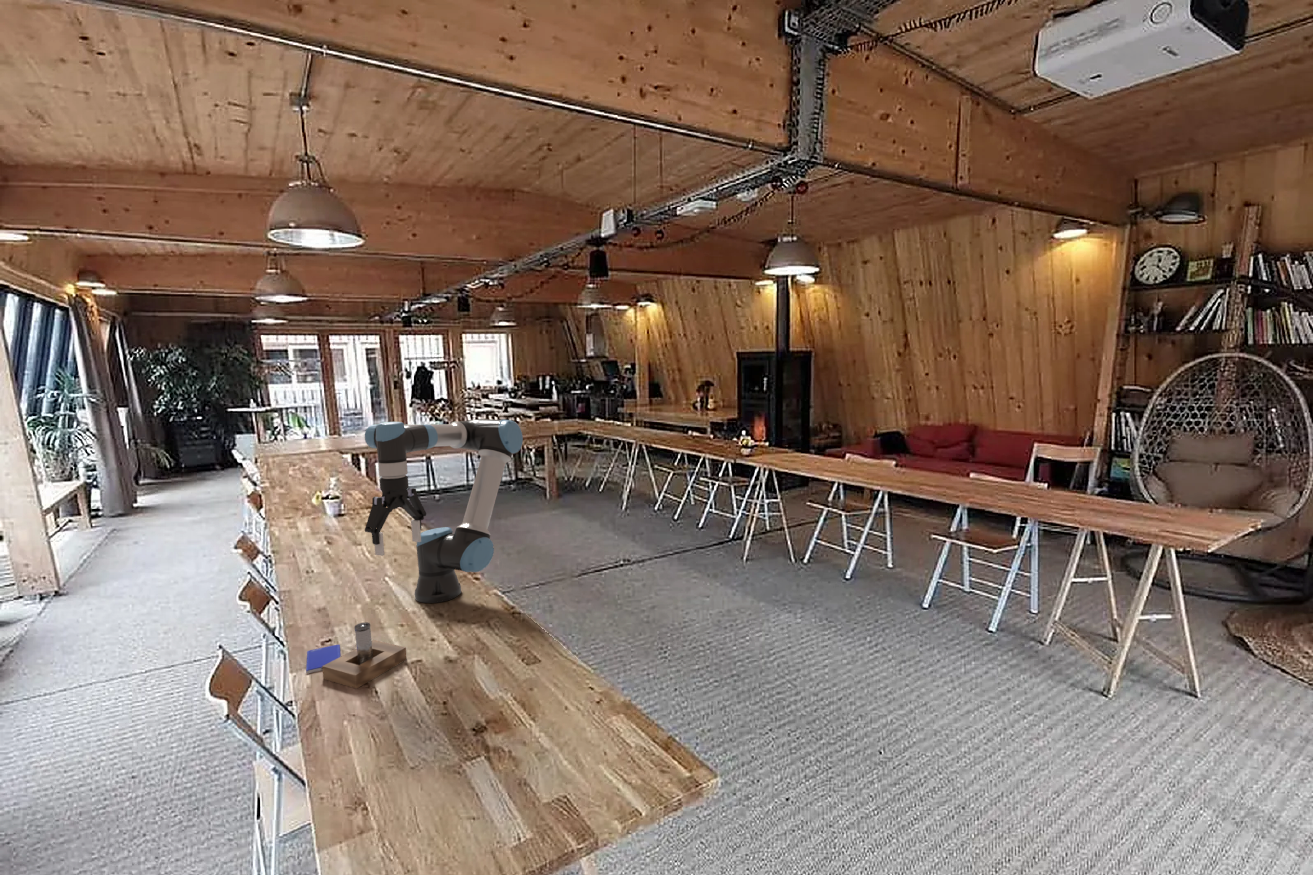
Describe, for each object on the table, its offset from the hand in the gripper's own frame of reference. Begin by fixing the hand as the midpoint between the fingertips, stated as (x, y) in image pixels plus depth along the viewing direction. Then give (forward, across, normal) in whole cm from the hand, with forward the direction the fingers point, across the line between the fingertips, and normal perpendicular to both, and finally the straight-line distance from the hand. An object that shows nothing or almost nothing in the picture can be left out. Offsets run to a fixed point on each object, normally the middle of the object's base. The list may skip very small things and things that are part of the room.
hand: (398, 548), depth 178 cm
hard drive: (+28, +20, -9) cm, 35 cm away
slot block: (+27, +19, +6) cm, 33 cm away
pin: (+27, +19, +6) cm, 33 cm away
